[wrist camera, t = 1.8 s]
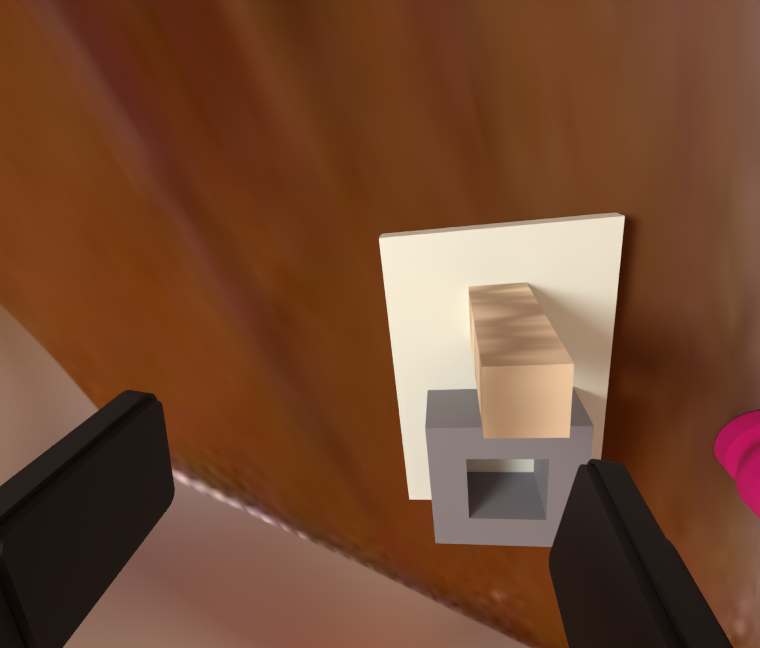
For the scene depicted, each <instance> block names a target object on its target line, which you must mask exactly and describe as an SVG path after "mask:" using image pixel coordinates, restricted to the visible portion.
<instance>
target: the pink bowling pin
mask: <svg viewBox="0 0 760 648" xmlns="http://www.w3.org/2000/svg"><path fill="white" fill-rule="evenodd" d="M714 452H715V456H716V458H717V460H718V461H719V463H720V464H721V465H722V466H723V467H724V468H725V470H726V471H727V472H728V473H729V474H730V475H731V476H732V477H733V478H734V479H735V480H736V487H737V490H738V493H739V495H740V497H741V498H742V500H743V501H744V503H745V504H746V505H747V506H748V507H749V508H750V509H751V510H752V511H753V512H754V513H755V514H756V515H757V516H758V517H759V518H760V410H758V411H753V412H750V413H746V414H743V415H741V416H739V417H737V418H735V419H733V420H732V421H730V422H729V423H728V424H727V425H725V426H724V428H723V429H722V430H721V431H720V432H719V434H718V436H717V438H716V441H715V444H714Z"/></svg>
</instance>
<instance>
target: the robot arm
mask: <svg viewBox="0 0 760 648" xmlns="http://www.w3.org/2000/svg"><path fill="white" fill-rule="evenodd" d="M174 491H175V490H174V482H173V475H172V468H171V461H170V454H169V447H168V440H167V433H166V426H165V419H164V412H163V406H162V403H161V402H160V401H157V398H156V397H155V395H154V394H151V393H145V392H139V391H132V390H127V391H124V392H122V393H121V394H119V395H118V396H117V397H116V398H114V399H113V400H112V401H110V402H109V403H108V404H106V405H105V406H104V407H103V408H101V409H100V410H99V411H97V412H96V413H95V414H94V415H92V416H91V417H90V418H88V419H87V420H86V421H84V422H83V423H82V424H81V425H79V426H78V427H77V428H75V429H74V430H73V431H71V432H70V433H69V434H68V435H66V436H65V437H64V438H62V439H61V440H60V441H59V442H57V443H56V444H55V445H53V446H52V447H51V448H50V449H48V450H47V451H46V452H44V453H43V454H42V455H40V456H39V457H38V458H36V459H35V460H34V461H32V463H30V464H29V465H27V466H26V467H25V468H23V469H22V470H21V471H19V472H18V473H17V474H16V475H14V476H13V477H12V478H10V479H9V480H8V481H6V482H5V483H4V484H3V485H1V486H0V648H63V646H64V645H65V644H66V642H67V641H68V640H69V639H70V637H71V636H72V635H73V633H74V632H75V630H76V629H77V628H78V627H79V625H80V624H81V623H82V621H83V620H84V619H85V617H86V616H87V615H88V613H89V612H90V611H91V609H92V608H93V607H94V605H95V604H96V603H97V602H98V600H99V599H100V597H101V596H102V595H103V594H104V592H105V591H106V590H107V588H108V587H109V586H110V584H111V583H112V582H113V580H114V579H115V578H116V576H117V575H118V574H119V572H120V571H121V570H122V568H123V567H124V566H125V565H126V563H127V562H128V560H129V559H130V558H131V557H132V555H133V554H134V552H135V551H136V550H137V549H138V547H139V546H140V545H141V543H142V542H143V541H144V539H145V538H146V537H147V535H148V534H149V533H150V531H151V530H152V529H153V527H154V526H155V525H156V523H157V522H158V521H159V519H160V518H161V517H162V516H163V514H164V513H165V512H166V510H167V509H168V508H169V506H170V504H171V502H172V500H173V497H174ZM549 569H550V574H551V578H552V582H553V586H554V590H555V594H556V598H557V602H558V606H559V609H560V613H561V617H562V621H563V625H564V629H565V633H566V637H567V641H568V645H569V648H733V646H732V645H731V643H730V641H729V639H728V638H727V636H726V634H725V633H724V631H723V629H722V627H721V626H720V624H719V622H718V621H717V619H716V617H715V615H714V614H713V612H712V610H711V609H710V607H709V605H708V603H707V602H706V600H705V598H704V596H703V595H702V593H701V591H700V590H699V588H698V586H697V584H696V583H695V581H694V579H693V578H692V576H691V574H690V572H689V571H688V569H687V567H686V566H685V564H684V562H683V560H682V559H681V557H680V555H679V554H678V552H677V550H676V549H675V547H674V546H673V545H672V543H671V542H670V541H669V540H668V539H666V537H665V535H664V534H663V532H662V530H661V529H660V527H659V525H658V523H657V522H656V520H655V518H654V516H653V515H652V513H651V511H650V509H649V508H648V506H647V504H646V502H645V501H644V499H643V497H642V495H641V494H640V492H639V490H638V488H637V487H636V485H635V483H634V481H633V480H632V478H631V476H630V475H629V473H628V471H627V469H626V468H625V466H624V465H623V464H622V463H620V462H614V461H607V460H600V459H590V460H589V461H588V463H587V465H586V464H581V465H580V466H579V468H578V470H577V473H576V476H575V479H574V482H573V485H572V488H571V491H570V494H569V497H568V500H567V503H566V506H565V509H564V512H563V515H562V518H561V521H560V524H559V527H558V530H557V533H556V536H555V539H554V542H553V545H552V548H551V551H550V555H549Z"/></svg>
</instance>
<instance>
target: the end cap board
mask: <svg viewBox="0 0 760 648" xmlns="http://www.w3.org/2000/svg"><path fill="white" fill-rule="evenodd" d="M624 220H625V216H624V215H621V214H619V213H605V214H594V215H583V216H572V217H561V218H550V219H539V220H528V221H517V222H506V223H495V224H484V225H474V226H463V227H452V228H441V229H430V230H419V231H408V232H397V233H386V234H381V236H380V237H379V243H380V251H381V260H382V268H383V277H384V286H385V294H386V303H387V311H388V320H389V328H390V337H391V345H392V354H393V363H394V371H395V380H396V388H397V397H398V405H399V414H400V422H401V431H402V440H403V448H404V457H405V465H406V474H407V482H408V491H409V499H427V500H432V508H433V519H434V530H435V541H436V543H452V544H482V545H512V546H542V547H552V545H553V542H554V539H555V536H556V533H557V530H558V527H559V524H560V521H561V518H562V515H563V512H564V509H565V506H566V503H567V500H568V497H569V494H570V491H571V488H572V485H573V482H574V479H575V476H576V473H577V470H578V468H579V466H580V465H581V464H586V465H587V463H588V461H589V460H590V459H600V460H601V453H602V443H603V433H604V423H605V413H606V403H607V392H608V382H609V372H610V362H611V352H612V342H613V332H614V321H615V311H616V301H617V291H618V281H619V271H620V260H621V250H622V240H623V230H624ZM525 282H526V283H527V284H528V286H529V288H530V290H531V291H532V293H533V295H534V296H535V298H536V300H537V301H538V303H539V305H540V306H541V308H542V310H543V312H544V313H545V315H546V317H547V318H548V320H549V322H550V323H551V325H552V327H553V329H554V330H555V332H556V334H557V335H558V337H559V339H560V340H561V342H562V344H563V346H564V347H565V349H566V351H567V352H568V354H569V356H570V357H571V359H572V361H573V363H574V374H573V390H572V406H571V422H570V438H484V437H483V430H482V422H481V415H480V408H479V400H478V393H477V385H476V378H475V370H474V363H473V356H472V348H471V341H470V324H469V299H468V286H480V285H495V284H510V283H525Z"/></svg>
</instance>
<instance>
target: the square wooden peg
mask: <svg viewBox="0 0 760 648" xmlns="http://www.w3.org/2000/svg"><path fill="white" fill-rule="evenodd" d="M468 299H469V324H470V341H471V348H472V356H473V363H474V370H475V378H476V385H477V393H478V400H479V408H480V415H481V422H482V430H483V437H484V438H570V422H571V406H572V390H573V374H574V363H573V361H572V359H571V357H570V356H569V354H568V352H567V351H566V349H565V347H564V346H563V344H562V342H561V340H560V339H559V337H558V335H557V334H556V332H555V330H554V329H553V327H552V325H551V323H550V322H549V320H548V318H547V317H546V315H545V313H544V312H543V310H542V308H541V306H540V305H539V303H538V301H537V300H536V298H535V296H534V295H533V293H532V291H531V290H530V288H529V286H528V284H527V283H526V282H525V283H510V284H495V285H480V286H468Z"/></svg>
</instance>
